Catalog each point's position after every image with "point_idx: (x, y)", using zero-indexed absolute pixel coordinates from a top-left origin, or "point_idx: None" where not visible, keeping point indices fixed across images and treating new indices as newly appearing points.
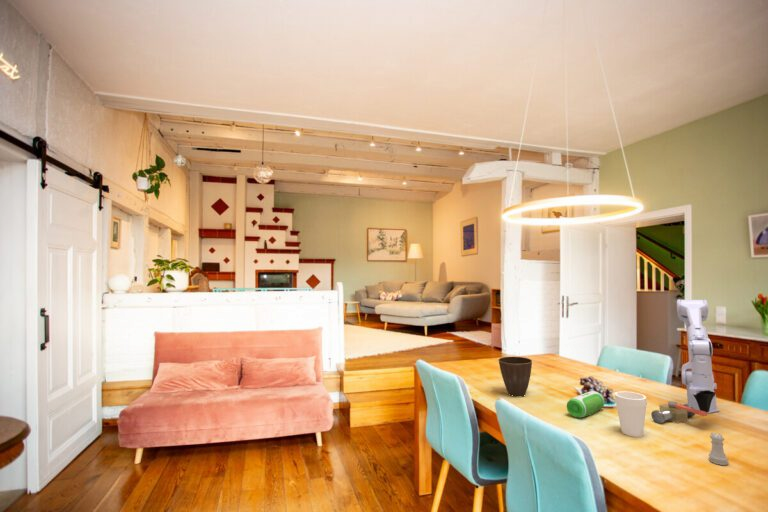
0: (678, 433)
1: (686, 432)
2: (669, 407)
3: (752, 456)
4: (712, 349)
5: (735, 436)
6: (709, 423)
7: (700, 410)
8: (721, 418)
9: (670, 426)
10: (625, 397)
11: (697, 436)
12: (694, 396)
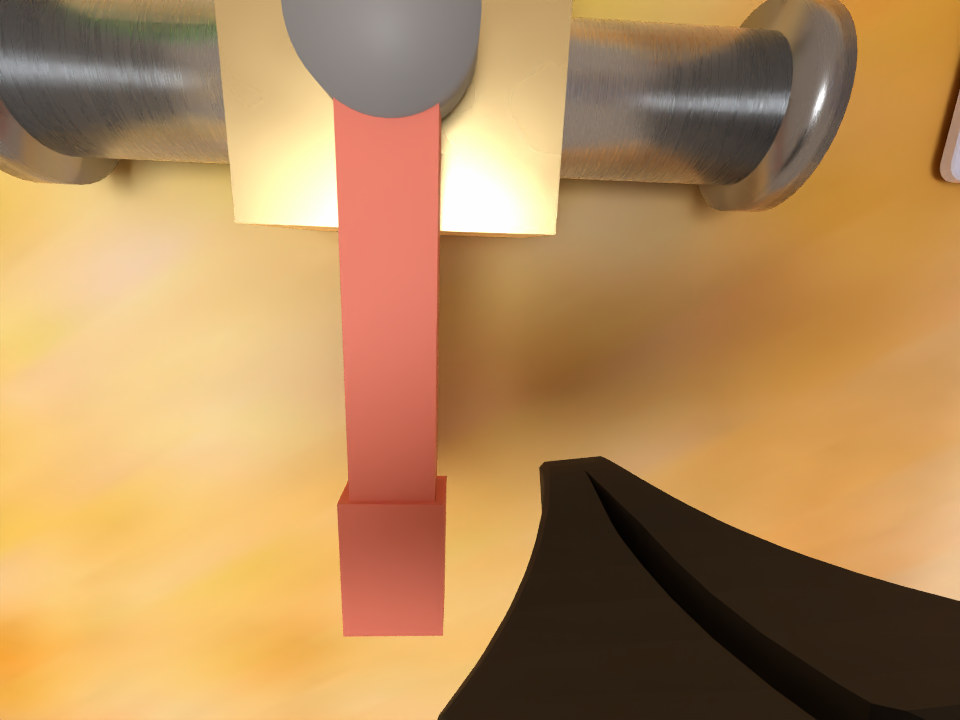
0: (65, 422)
1: (176, 437)
2: (279, 47)
3: None
4: None
5: None
6: (663, 380)
7: (435, 552)
8: (942, 343)
9: (160, 257)
10: None
11: (188, 534)
12: (494, 646)
